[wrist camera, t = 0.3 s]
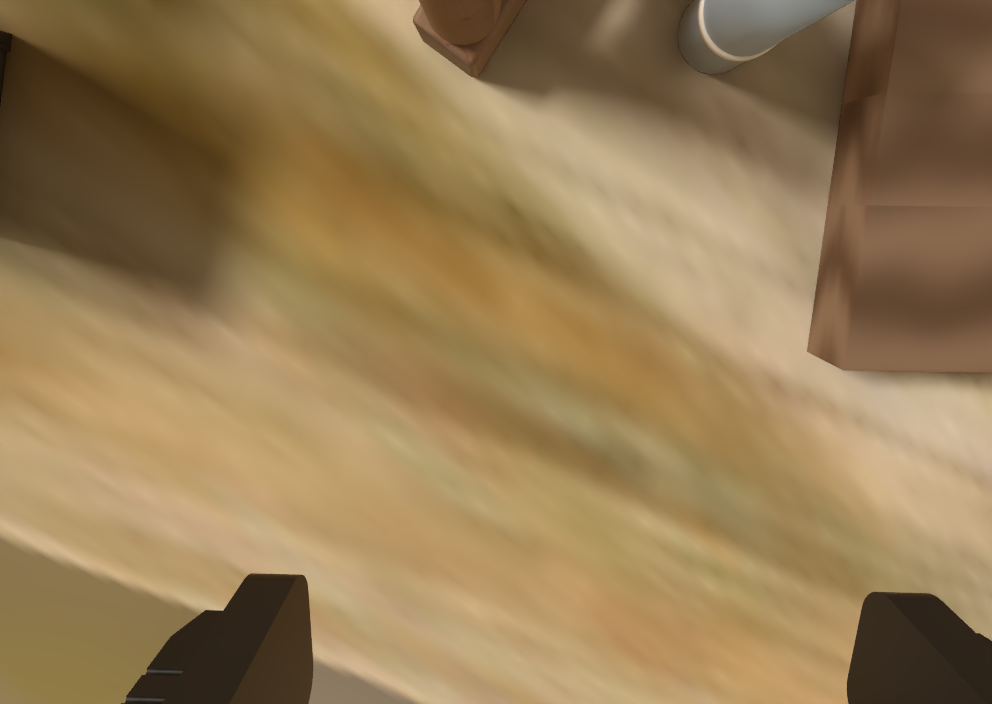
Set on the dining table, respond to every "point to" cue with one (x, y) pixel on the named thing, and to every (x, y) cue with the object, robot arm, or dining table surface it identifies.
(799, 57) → the dining table surface
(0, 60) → the lantern
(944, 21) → the socket block
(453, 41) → the brown wedge-headed part
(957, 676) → the robot arm
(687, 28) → the peg
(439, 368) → the dining table surface
